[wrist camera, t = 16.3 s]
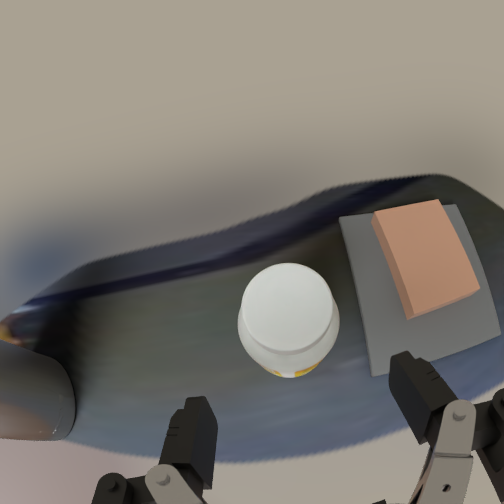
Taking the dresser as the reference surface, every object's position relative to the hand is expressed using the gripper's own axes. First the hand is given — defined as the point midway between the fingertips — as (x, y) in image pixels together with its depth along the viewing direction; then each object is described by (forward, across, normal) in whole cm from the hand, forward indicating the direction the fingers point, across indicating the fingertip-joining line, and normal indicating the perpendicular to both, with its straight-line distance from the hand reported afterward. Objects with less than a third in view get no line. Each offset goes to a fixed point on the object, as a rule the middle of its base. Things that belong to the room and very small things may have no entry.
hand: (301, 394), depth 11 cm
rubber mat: (+10, -12, +2) cm, 16 cm away
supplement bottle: (+9, 0, +4) cm, 10 cm away
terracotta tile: (+7, -13, +3) cm, 15 cm away
